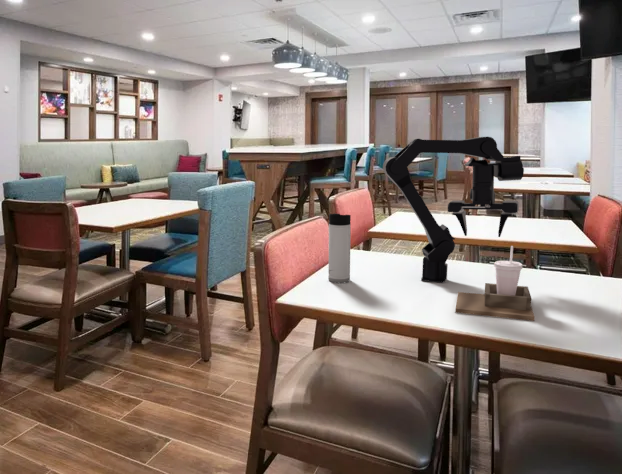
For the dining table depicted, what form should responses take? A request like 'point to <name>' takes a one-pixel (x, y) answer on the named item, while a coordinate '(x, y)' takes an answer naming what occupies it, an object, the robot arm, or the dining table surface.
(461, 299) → the holder
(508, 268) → the smoothie
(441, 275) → the robot arm
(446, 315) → the dining table surface
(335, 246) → the travel mug
